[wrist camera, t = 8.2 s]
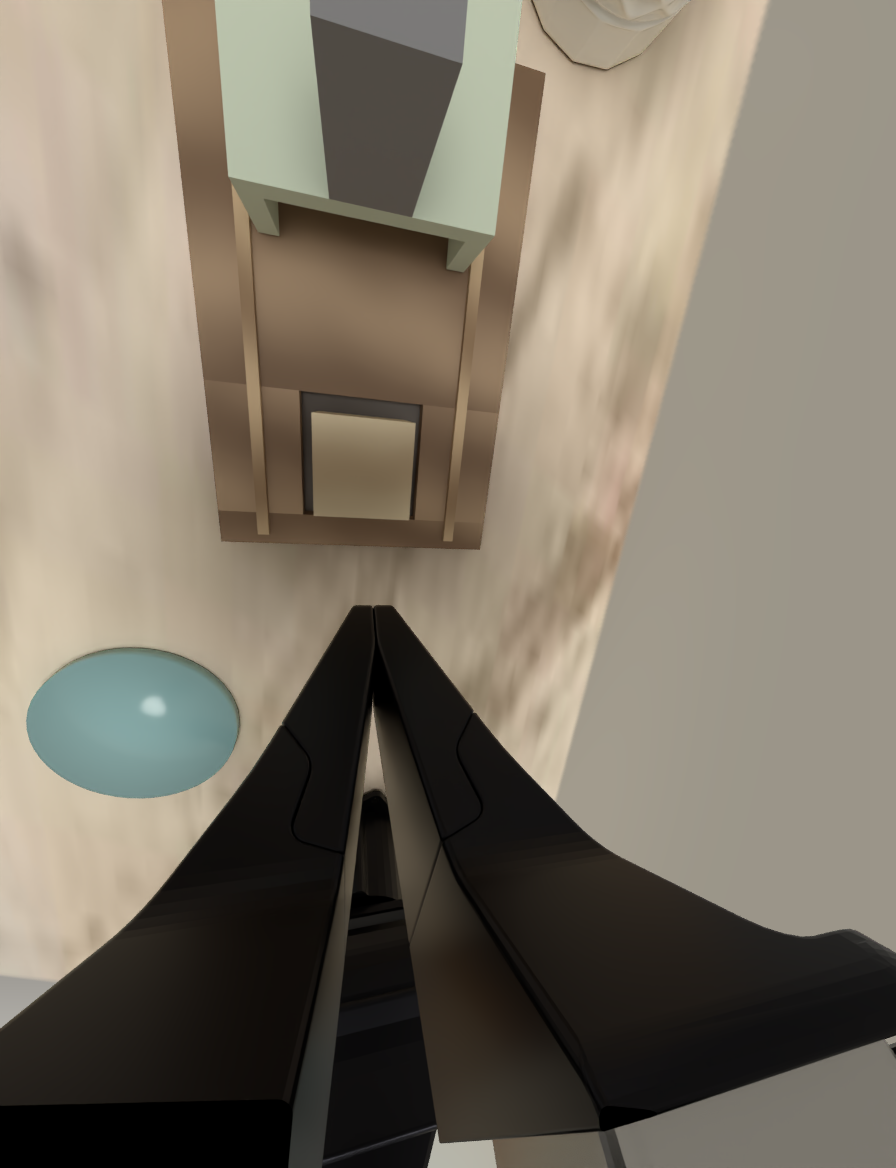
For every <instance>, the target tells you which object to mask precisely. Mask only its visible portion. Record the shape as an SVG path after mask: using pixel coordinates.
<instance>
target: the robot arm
mask: <svg viewBox="0 0 896 1168" xmlns="http://www.w3.org/2000/svg"><path fill="white" fill-rule="evenodd" d="M372 702H373V709H374V717H375V724H376V730H377V737H378V743H379V750H380V756H381V763H382V769H383V776H384V782H385V789H386V795H387V799H386V798H385V797H384V796H383V794H382V793H381V792H379V791H373V792H371V793H369V794H367V795H365V796H363V789H364V780H365V770H366V761H367V752H368V743H369V734H370V725H371V716H372ZM473 712H474V711H473V709H472V708H471V706H470V705H469V704H468V702H467V701H466V700H465V698H464V697H463V696H462V695H461V693H460V692H459V691H458V689H457V688H456V687H455V686H454V684H453V683H452V682H451V680H450V679H449V678H448V676H447V675H446V674H445V673H444V671H443V670H442V669H441V667H440V666H439V665H438V664H437V662H436V661H435V660H434V658H433V657H432V656H431V654H430V653H429V652H428V651H427V649H426V648H425V647H424V645H423V644H422V643H421V642H420V640H419V639H418V638H417V636H416V635H415V634H414V633H413V631H412V630H411V629H410V627H409V626H408V625H407V623H406V622H405V621H404V620H403V618H402V617H401V616H400V614H399V613H398V612H397V611H396V609H395V608H394V607H393V606H391V605H376V606H374V608H373V607H372V606H370V605H356V606H353V607H352V608H351V610H350V612H349V613H348V615H347V617H346V618H345V620H344V622H343V623H342V625H341V626H340V628H339V630H338V631H337V633H336V635H335V636H334V638H333V640H332V641H331V643H330V645H329V646H328V648H327V649H326V651H325V653H324V654H323V656H322V658H321V659H320V661H319V663H318V664H317V666H316V668H315V669H314V671H313V673H312V674H311V676H310V677H309V679H308V681H307V682H306V684H305V686H304V687H303V689H302V691H301V692H300V694H299V696H298V697H297V699H296V700H295V702H294V704H293V705H292V707H291V709H290V710H289V712H288V714H287V715H286V717H285V719H284V720H283V722H282V725H281V726H280V727H279V728H278V730H277V731H276V733H275V735H274V736H273V738H272V740H271V741H270V743H269V744H268V746H267V747H266V749H265V751H264V752H263V754H262V755H261V757H260V758H259V760H258V761H257V763H256V764H255V766H254V767H253V769H252V770H251V772H250V773H249V774H248V776H247V777H246V778H245V780H244V781H243V783H242V784H241V785H240V787H239V788H238V789H237V791H236V792H235V793H234V795H233V796H232V797H231V799H230V800H229V801H228V803H227V804H226V805H225V806H224V808H223V809H222V810H221V812H220V813H219V814H218V815H217V817H216V818H215V819H214V821H213V822H212V823H211V824H210V826H209V827H208V828H207V830H206V831H205V832H204V833H203V835H202V836H201V837H200V839H199V840H198V841H197V842H196V844H195V845H194V846H193V848H192V849H191V850H190V851H189V853H188V854H187V855H186V857H185V858H184V859H183V860H182V862H181V863H180V864H179V865H178V867H177V868H176V869H175V871H174V872H173V873H172V874H171V876H170V877H169V878H168V880H167V881H166V882H165V883H164V884H163V886H162V887H161V888H160V889H159V891H158V892H157V893H156V894H155V895H154V896H153V898H152V899H151V900H150V901H149V902H148V903H147V904H146V906H145V907H144V908H143V909H142V910H141V911H140V912H139V913H138V914H137V915H136V916H135V917H134V918H133V919H132V920H131V921H130V922H129V923H128V924H127V925H126V926H125V927H124V928H123V929H122V930H120V931H119V932H118V933H117V934H116V935H115V936H114V937H113V938H111V939H110V940H109V941H108V942H107V943H105V944H104V945H103V946H102V947H100V948H99V949H98V950H97V951H96V952H94V953H93V954H92V955H91V956H89V957H88V958H87V959H86V960H84V961H83V962H82V963H81V964H79V965H78V966H77V967H76V968H75V969H73V970H72V971H71V972H70V973H68V974H67V975H66V976H65V977H63V978H62V979H61V980H60V981H58V982H57V983H56V984H55V985H54V986H52V987H51V988H50V989H49V990H47V991H46V992H45V993H44V994H42V995H41V996H40V997H39V998H37V999H36V1000H35V1001H34V1002H33V1003H31V1004H30V1005H29V1006H28V1007H26V1008H25V1009H24V1010H23V1011H21V1012H20V1013H19V1014H18V1015H16V1016H15V1017H14V1018H13V1019H11V1020H10V1021H9V1022H8V1023H7V1024H5V1025H4V1026H3V1027H2V1028H0V1168H427V1166H428V1163H429V1159H430V1154H431V1150H432V1146H433V1141H434V1138H435V1133H436V1130H437V1129H438V1136H439V1142H440V1143H453V1142H467V1141H481V1140H493V1146H494V1152H495V1159H496V1165H497V1168H896V1043H893V1044H890V1045H888V1043H887V1042H886V1040H885V1039H887V1038H890V1037H892V1036H895V1035H896V953H895V952H893V951H892V950H890V949H889V948H886V947H884V946H883V945H881V944H879V943H877V942H876V941H874V940H872V939H871V938H869V937H867V936H865V935H864V934H862V933H860V932H858V931H856V930H852V929H843V930H837V931H832V932H828V933H824V934H820V935H816V936H805V937H800V936H795V935H789V934H784V933H781V932H778V931H774V930H771V929H768V928H765V927H762V926H760V925H758V924H756V923H753V922H751V921H748V920H746V919H744V918H742V917H740V916H738V915H736V914H734V913H732V912H730V911H727V910H726V909H724V908H722V907H720V906H718V905H716V904H714V903H712V902H710V901H708V900H706V899H704V898H702V897H700V896H698V895H696V894H694V893H692V892H690V891H688V890H686V889H684V888H682V887H680V886H678V885H676V884H674V883H672V882H670V881H668V880H666V879H663V878H661V877H660V876H658V875H655V874H654V873H652V872H649V871H647V870H645V869H643V868H641V867H639V866H637V865H635V864H633V863H631V862H629V861H627V860H625V859H623V858H621V857H620V856H618V855H616V854H614V853H613V852H611V851H609V850H608V849H606V848H605V847H603V846H602V845H601V844H599V843H598V842H596V841H595V840H594V839H593V838H592V837H590V836H589V835H588V834H587V833H586V832H585V831H583V830H582V829H581V828H580V827H579V826H578V825H577V824H576V823H575V822H574V821H573V820H572V819H571V818H570V817H569V816H568V815H567V814H566V813H565V811H563V809H562V808H561V807H560V806H559V805H558V804H557V803H556V802H555V801H554V800H553V799H552V798H551V797H550V796H549V795H548V794H547V793H546V792H545V791H544V790H543V789H542V788H541V787H540V786H539V785H538V784H537V783H536V782H535V780H534V779H533V778H532V777H531V776H530V775H529V774H528V773H527V772H526V771H525V770H524V769H523V768H522V767H521V766H520V765H519V764H518V763H517V762H516V760H515V759H514V758H513V757H512V756H511V755H510V754H509V753H508V752H507V751H506V750H505V749H504V747H503V746H502V745H501V744H500V743H499V741H498V740H497V739H496V738H495V737H494V735H493V734H492V733H491V732H490V730H489V729H488V728H487V727H486V726H485V724H484V723H483V722H482V720H481V719H480V718H479V716H478V715H477V714H476V713H473ZM375 798H376V799H375Z"/></svg>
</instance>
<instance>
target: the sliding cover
mask: <svg viewBox="0 0 896 1168" xmlns="http://www.w3.org/2000/svg"><path fill="white" fill-rule="evenodd" d="M521 8H522V0H215V11H216V24H217V37H218V50H219V63H220V76H221V89H222V102H223V115H224V127H225V140H226V153H227V166H228V177H229V179H230V181H231V183H232V184H233V186H234V188H235V190H236V192H237V194H238V196H239V198H240V199H241V201H242V203H243V205H244V207H245V209H246V211H247V212H248V214H249V216H250V218H251V220H252V222H253V224H254V225H255V227H256V229H257V231H258V232H260V233H265V234H270V235H275V236H279V215H278V202H282V203H287V204H291V205H296V206H301V207H305V208H310V209H315V210H319V211H324V212H329V213H333V214H338V215H343V216H347V217H352V218H357V219H361V220H366V221H371V222H375V223H380V224H384V225H389V226H394V227H398V228H403V229H408V230H412V231H417V232H422V233H426V234H431V235H436V236H440V237H445V238H449V241H448V253H447V265H446V269H448V270H454V271H459V272H464V271H465V270H466V269H467V268H468V267H469V265H470V264H471V263H472V262H473V261H474V260H475V258H476V257H477V256H478V255H479V254H480V253H481V251H482V250H483V249H484V248H485V247H486V246H487V244H488V243H489V242H490V241H491V240H492V239H493V237H494V236H495V231H496V222H497V214H498V205H499V196H500V188H501V179H502V171H503V162H504V154H505V145H506V136H507V128H508V119H509V111H510V102H511V94H512V85H513V77H514V68H515V59H516V51H517V42H518V34H519V25H520V17H521Z"/></svg>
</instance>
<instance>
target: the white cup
mask: <svg viewBox="0 0 896 1168" xmlns="http://www.w3.org/2000/svg"><path fill="white" fill-rule="evenodd" d="M690 1H691V0H533V2H534V5H535V7H536V10H537V13H538V16H539V18H540V21H541V24H542V26H543V29H544V30H545V31H546V33H547V34H548V35H549V36H550V37H551V38H552V39H553V40H554V41H555V42H556V44H557V45H558V46H559V47H560V48H561V49H562V50H563V51H564V52H565V53H566V54H567V56H568V57H569V58H570V59H571V60H572V61H574V62H578V63H582V64H586V65H590V66H594V67H598V68H602V69H609V68H611V67H614V66H616V65H618V64H620V63H622V62H624V61H627V60H629V59H631V58H633V57H635V56H638V55H640V54H641V53H642V52H643V51H644V50H645V49H646V48H647V47H648V46H649V45H650V43H651V42H652V41H653V40H654V39H655V38H656V37H657V36H658V35H659V33H660V32H661V31H662V30H663V29H664V28H665V27H666V26H667V25H668V23H669V22H670V21H671V20H672V19H673V18H674V17H675V16H676V15H677V14H678V12H679V11H680V10H681V9H682V8H683V7H684V6H685V5H686V4H687V3H689V2H690Z"/></svg>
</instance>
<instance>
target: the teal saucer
mask: <svg viewBox="0 0 896 1168" xmlns="http://www.w3.org/2000/svg"><path fill="white" fill-rule="evenodd" d="M26 722H27V732H28V736H29V740H30V742H31V744H32V746H33V748H34V750H35V752H36V753H37V754H38V756H39V757H40V759H41V760H42V761H43V762H44V763H45V764H46V765H47V766H48V767H49V768H50V769H52V770H53V771H54V772H55V773H56V774H58V775H59V776H61V777H63V778H64V779H66V780H67V781H69V782H71V783H73V784H75V785H77V786H80V787H82V788H85V789H87V790H90V791H93V792H97V793H100V794H104V795H110V796H115V797H123V798H154V797H161V796H167V795H171V794H176V793H179V792H182V791H185V790H188V789H190V788H193V787H195V786H197V785H199V784H201V783H202V782H204V781H206V780H208V779H209V778H210V777H212V776H213V775H214V774H215V773H216V772H218V771H219V770H220V769H221V768H222V767H223V765H224V764H225V763H226V761H227V760H228V758H229V757H230V755H231V753H232V751H233V748H234V745H235V742H236V739H237V736H238V732H239V713H238V708H237V706H236V703H235V701H234V699H233V697H232V695H231V694H230V692H229V690H228V689H227V688H226V687H225V685H224V684H223V683H222V682H221V681H220V680H219V679H218V678H217V677H216V676H215V675H213V674H212V673H210V672H209V671H208V670H206V669H205V668H203V667H202V666H200V665H198V664H196V663H195V662H192V661H190V660H188V659H186V658H183V657H181V656H177V655H174V654H171V653H168V652H163V651H159V650H152V649H144V648H118V649H110V650H104V651H99V652H96V653H92V654H89V655H86V656H83V657H81V658H79V659H76V660H74V661H72V662H71V663H69V664H67V665H66V666H64V667H63V668H62V669H60V670H59V671H58V672H57V673H55V674H54V675H53V676H52V677H51V678H50V679H49V680H48V681H46V682H45V683H44V684H43V686H42V687H41V688H40V689H39V690H38V691H37V693H36V694H35V696H34V697H33V699H32V701H31V703H30V706H29V709H28V713H27V719H26Z"/></svg>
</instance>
